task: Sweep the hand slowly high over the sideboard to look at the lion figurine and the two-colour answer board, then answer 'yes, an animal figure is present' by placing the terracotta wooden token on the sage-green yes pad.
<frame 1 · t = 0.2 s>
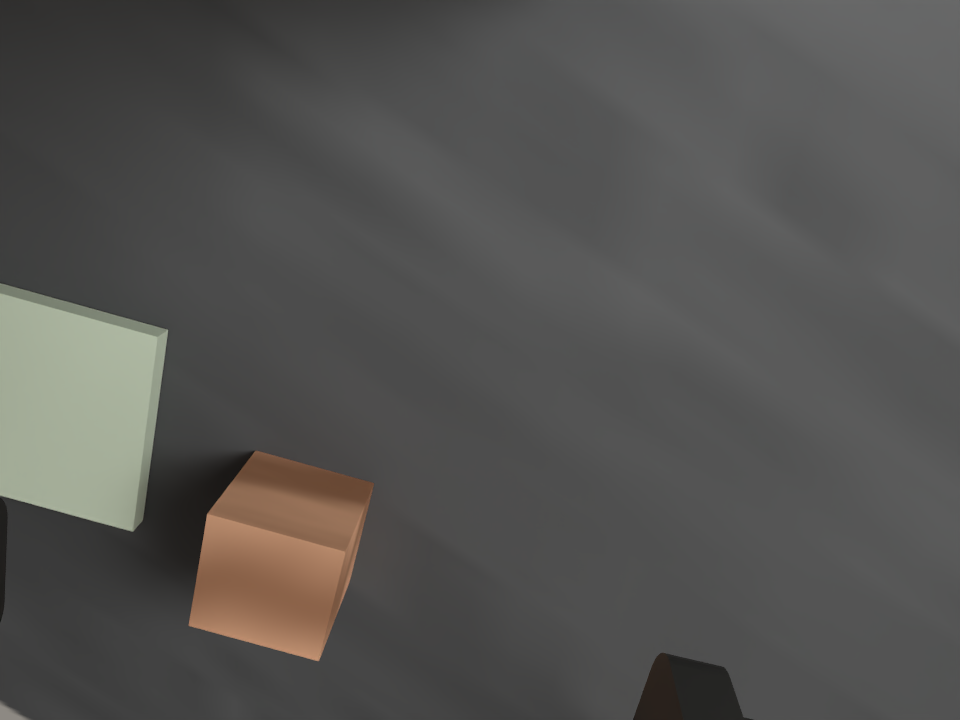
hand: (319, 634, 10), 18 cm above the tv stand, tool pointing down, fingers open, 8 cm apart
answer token: (304, 516, 30), on the tv stand
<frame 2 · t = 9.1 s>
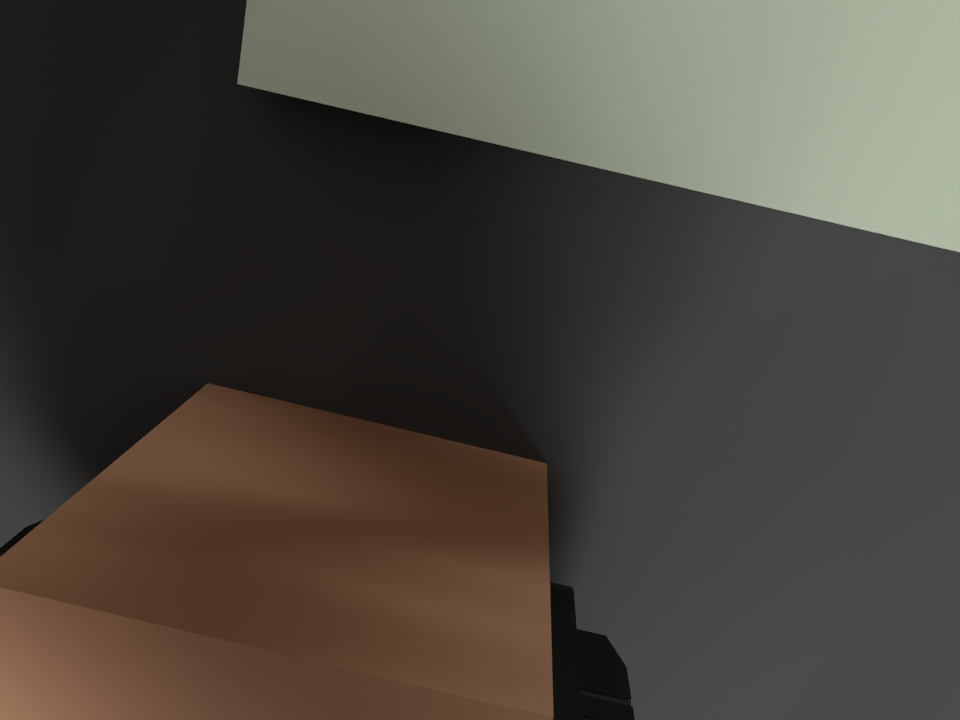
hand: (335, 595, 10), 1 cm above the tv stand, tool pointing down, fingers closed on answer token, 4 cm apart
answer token: (348, 569, 11), on the tv stand, touching gripper
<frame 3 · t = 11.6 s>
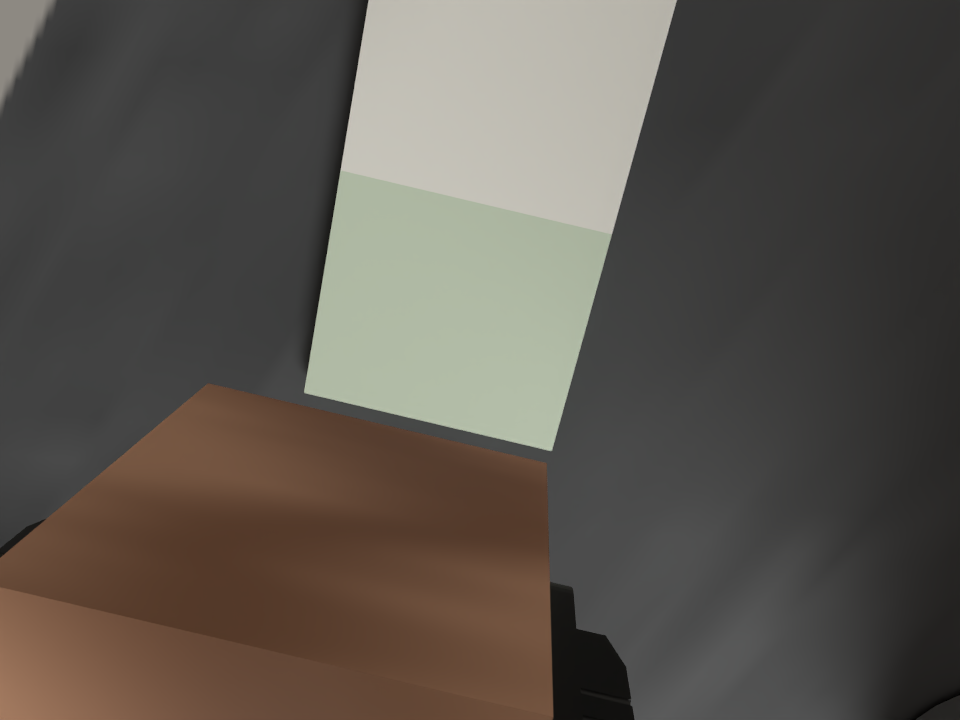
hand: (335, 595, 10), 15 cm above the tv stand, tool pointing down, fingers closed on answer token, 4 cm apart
answer board: (478, 199, 24), on the tv stand
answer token: (348, 569, 11), point 14 cm above the tv stand, touching gripper
when the fingers open (3 cm above the tv stand, at t = 14.2 s): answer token drops 1 cm, resting on answer board.
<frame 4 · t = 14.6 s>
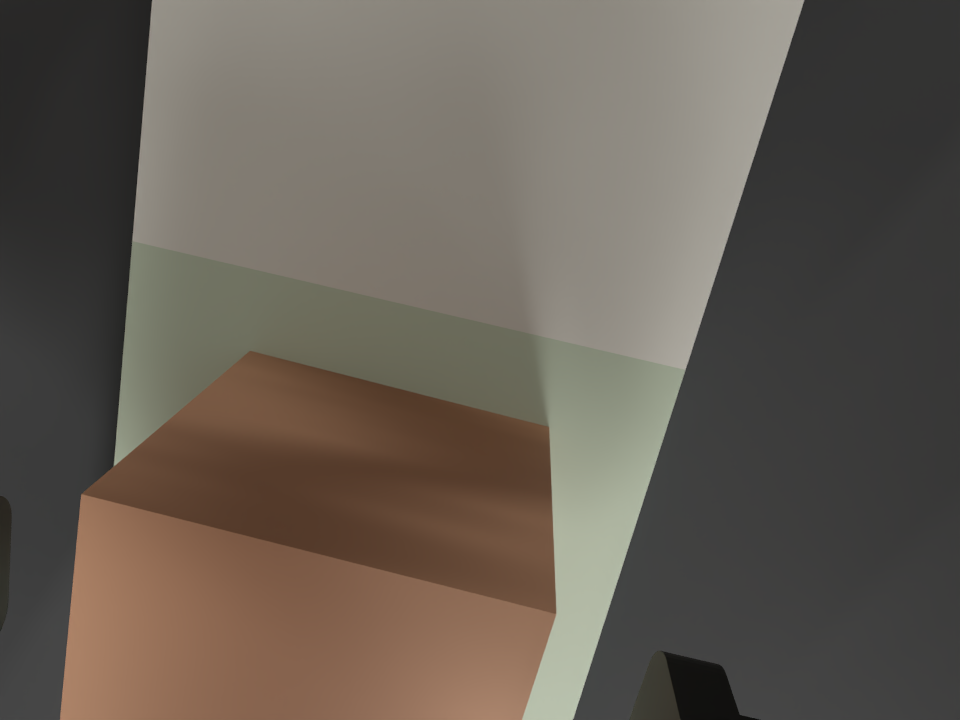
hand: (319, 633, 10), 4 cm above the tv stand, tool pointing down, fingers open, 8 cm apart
answer board: (417, 292, 12), on the tv stand
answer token: (369, 521, 12), point 1 cm above the tv stand, touching answer board
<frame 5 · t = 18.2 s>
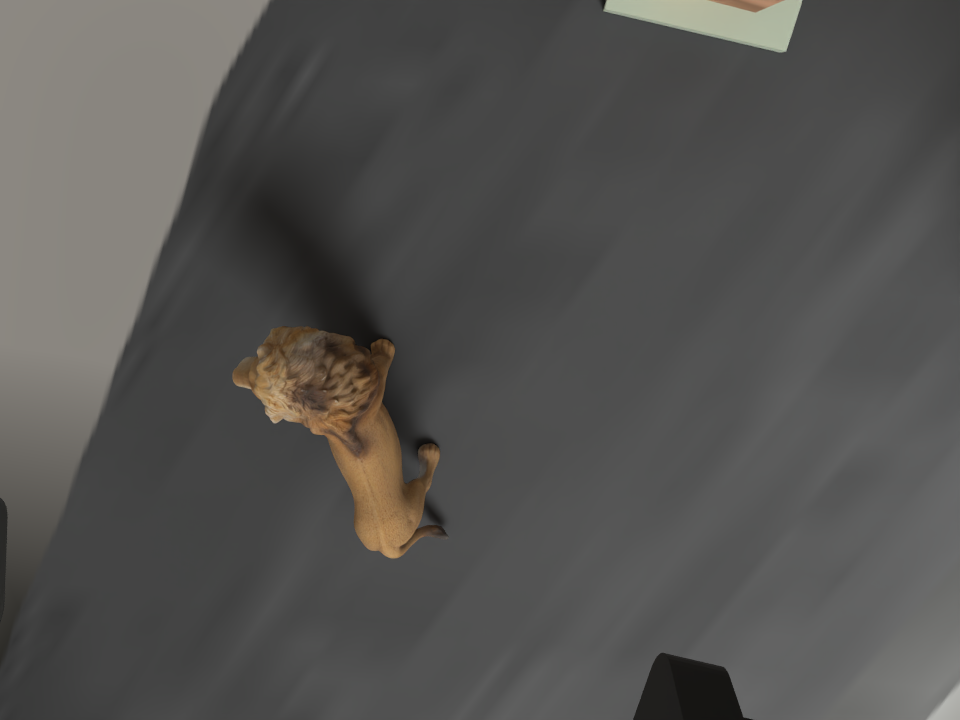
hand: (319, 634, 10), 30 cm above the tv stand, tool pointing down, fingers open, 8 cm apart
lion figurine: (374, 412, 42), on the tv stand
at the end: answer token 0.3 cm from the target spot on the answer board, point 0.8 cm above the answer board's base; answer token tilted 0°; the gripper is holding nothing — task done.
